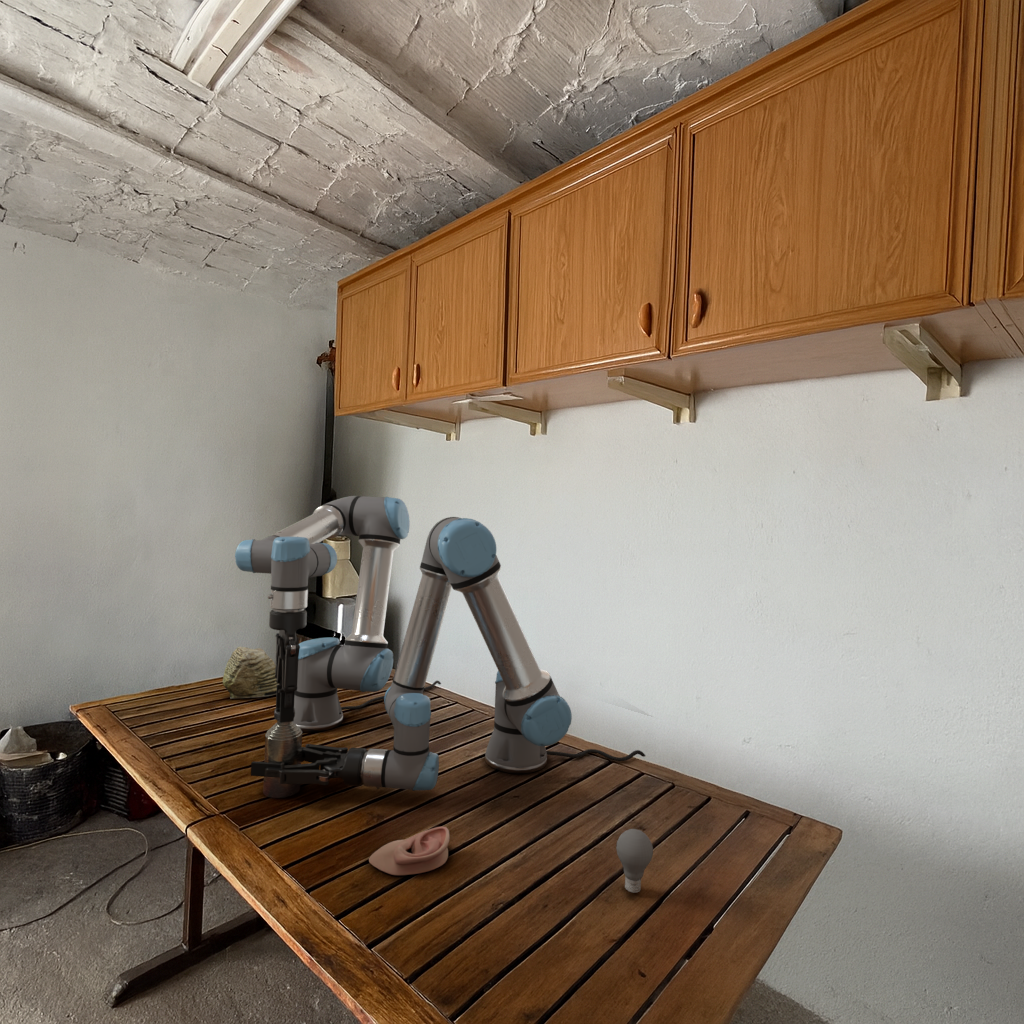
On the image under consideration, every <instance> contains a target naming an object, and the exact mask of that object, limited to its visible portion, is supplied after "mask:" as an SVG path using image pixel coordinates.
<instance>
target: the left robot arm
mask: <svg viewBox="0 0 1024 1024" xmlns="http://www.w3.org/2000/svg"><path fill="white" fill-rule="evenodd" d="M410 523H411V521H410V515H409V510H408V507H407V505H406V503H405V502H404V501H403V500H402V499H400V498H398V497H390V496H363V495H350V496H345V497H341V498H337V499H334V500H331V501H329V502H326V503H324V504H322V505H320V506H318V507H316V509H315V510H314V511H313V512H312V514H310V515H308V516H306V517H305V518H303V519H300V520H298V521H297V522H294V523H292V524H290V525H288V526H287V527H284V528H282V529H281V530H278V531H276V532H275V533H273V534H270V535H269V536H267V537H264V538H262V539H253V538H252V539H244V540H242V541H241V542H240V543H239V544H238V545H237V547H236V548H235V549H236V550H235V552H234V559H235V564H236V566H237V568H238V569H239V570H240V571H242V572H247V573H253V574H270V594H267V599H268V600H269V601H270V602H269V607H270V608H271V610H270V611H269V617H268V618H269V620H268V624H269V625H268V626H269V628H270V629H272V630H275V631H278V633H276V634H275V643H276V644H275V665H276V667H275V678H276V679H277V680H276V682H277V684H279V685H277V691H276V695H275V697H276V698H275V709H276V708H278V707H280V723H284V722H291V721H292V722H293V723H295V724H296V725H297V726H298V727H299V728H300V729H301V731H302V733H316V732H325V731H329V730H332V729H335V728H337V727H339V726H340V725H342V723H343V722H344V714H343V711H345V710H357V709H358V710H359V709H362V708H364V707H365V706H367V705H369V704H371V703H373V702H376V701H380V700H384V697H385V695H382V696H378V697H377V696H376V697H373V698H371V699H369V700H367V701H365V702H363V703H362V704H359V705H348V706H341V702H340V699H339V695H338V689H339V690H340V689H341V690H347V691H348V690H349V691H359V692H362V693H366V692H367V693H369V692H370V693H377V692H379V691H381V690H382V689H383V688H384V687H385V685H386V684H387V683H388V681H389V679H390V676H391V675H392V670H393V668H394V667H393V666H394V653H393V651H392V650H391V649H389V648H388V644H389V642H388V641H387V639H386V638H385V637H384V631H385V623H386V616H387V608H388V600H389V592H390V591H389V590H390V583H391V575H392V568H393V560H394V552H395V551H396V550H397V549H398V548H399V547H400V546H401V540H404V539H406V538H407V537H408V536H409V533H410V525H411V524H410ZM339 536H351V537H358V543H359V544H360V545H361V547H362V554H361V561H360V568H359V576H358V582H357V591H356V599H355V605H354V612H353V613H354V614H353V620H352V627H351V633H350V634H349V635H348V636H347V637H345V639H344V644H340V643H341V641H340V639H339V638H338V637H334V636H333V637H318V638H313V639H307V640H304V641H302V642H300V640H299V638H300V637H299V636H297V631H298V630H302V629H304V628H306V626H307V621H308V620H307V619H308V618H307V617H308V611H307V610H306V608H307V607H308V599H309V598H308V597H309V588H308V587H309V578H316V577H322V576H325V575H326V574H329V573H331V572H332V571H333V570H334V569H335V568H336V567H337V563H338V554H337V551H336V550H335V548H334V547H333V546H332V545H331V544H329V543H326V542H323V541H325V540H327V539H335V538H337V537H339ZM437 684H438V685H442V682H441V681H440V680H435V681H434V682H433V683H432V684H430V685H428V686H425V687H424V690H423V692H424V691H427V690H429V689H432V688H433V687H435V686H436V685H437ZM294 708H295V717H294Z"/></svg>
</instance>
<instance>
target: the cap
mask: <svg viewBox="0 0 1024 1024" xmlns="http://www.w3.org/2000/svg"><path fill="white" fill-rule="evenodd" d="M294 717H295V708H294ZM273 718H274V720H275V721H277V720H279V721H280V707H278V708H276V707H275V709H274V711H273Z"/></svg>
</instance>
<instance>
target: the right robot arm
mask: <svg viewBox="0 0 1024 1024" xmlns="http://www.w3.org/2000/svg"><path fill="white" fill-rule="evenodd" d="M419 570H420V572H421V579H420V582H419V585H418V588H417V593H416V595H415V599H414V603H413V607H412V610H411V613H410V617H409V621H408V624H407V627H406V631H405V635H404V638H403V642H402V646H401V650H400V653H399V655H398V661H397V664H396V667H395V671H394V675H393V677H392V682H391V684H390V686H389V687H388V689H387V690H386V691H385V693H384V696H385V697H384V699H383V702H384V709H385V711H386V713H387V715H388V717H389V719H390V722H391V725H392V726H393V747H392V748H393V749H383V748H369V749H367V748H363V747H350V748H348V747H335V746H328V745H321V744H313V743H307V744H305V746H302V752H301V764H297V765H286V766H284V762H282V763H270V762H264V761H256V760H255V761H251V763H250V777H263V778H264V777H278V778H280V784H300V785H320V786H321V785H322V786H328V785H329V784H330V779H340V778H341V779H342V781H343V785H345V786H349V787H362V786H364V787H369V788H375V789H376V790H380V789H381V788H384V789H397V790H406V791H407V790H409V791H414V792H415V791H431V790H433V789H435V787H436V785H437V782H438V777H439V771H440V770H439V768H440V758H439V754H438V753H436V752H432V751H430V732H431V731H430V730H431V717H432V711H431V699H430V697H429V696H428V695H425V694H424V691H425V690H424V688H425V687H426V683H427V679H428V675H429V672H430V669H431V665H432V661H433V657H434V654H435V650H436V647H437V643H438V640H439V636H440V633H441V629H442V626H443V623H444V618H445V615H446V611H447V609H448V608H447V607H448V604H449V601H450V598H451V594H452V590H453V591H457V592H460V593H462V595H463V598H464V600H465V602H466V604H467V606H468V609H469V611H470V613H471V614H472V617H473V619H474V620H475V623H476V626H477V628H478V630H479V632H480V634H481V636H482V638H483V641H484V643H485V645H486V647H487V649H488V651H489V654H490V656H491V657H492V660H493V662H494V664H495V666H496V669H497V672H496V677H495V681H494V684H495V690H494V691H495V692H494V694H495V695H494V715H493V717H494V719H493V729H492V732H491V736H490V738H489V741H488V743H487V746H486V748H485V753H484V755H485V756H484V760H485V763H486V764H487V765H488V766H489V767H490V768H492V769H494V770H496V771H500V772H503V773H509V774H529V773H530V774H531V773H536V772H537V771H540V770H542V769H544V768H545V767H546V766H547V763H548V756H556V757H563V758H570V759H578V758H583V757H584V756H586V755H588V754H597V755H599V756H602V757H604V758H606V759H608V760H611V761H614V762H620V763H621V762H626V761H629V760H630V759H632V758H633V757H635V756H636V755H640V757H643V758H644V757H646V754H645V753H644V752H643V751H642V750H639V749H636V750H634V751H632V752H631V753H629V754H628V755H626V756H622V757H621V756H619V757H618V756H612V755H610V754H608V753H606V752H604V751H602V750H600V749H594V748H588V749H585V750H583V751H581V752H579V753H568V752H562V751H552V750H547V749H546V747H549V746H553V745H554V744H555V745H556V744H558V742H560V741H561V740H562V739H563V738H564V737H565V736H566V735H567V733H568V732H569V728H570V726H571V724H572V720H573V718H572V717H573V716H572V715H573V714H572V709H571V707H570V705H569V704H568V702H567V701H566V699H565V698H564V697H562V696H561V695H560V693H559V691H558V690H557V689H558V688H556V684H555V682H554V681H553V678H552V676H551V674H550V673H549V672H548V671H547V670H546V669H545V670H544V669H541V668H540V666H539V663H538V662H537V660H536V657H535V655H534V653H533V651H532V649H531V646H530V644H529V642H528V639H527V637H526V635H525V633H524V631H523V628H522V625H521V624H520V621H519V620H518V617H517V615H516V613H515V611H514V608H513V606H512V604H511V602H510V599H509V597H508V595H507V593H506V591H505V588H504V586H503V584H502V581H501V579H500V577H499V575H500V572H501V570H502V564H501V562H500V560H499V557H498V555H497V542H496V540H495V537H494V535H493V533H492V532H491V530H489V528H488V527H487V526H485V525H484V524H483V523H481V522H480V521H478V520H476V519H473V518H467V517H458V516H448V517H444V518H442V519H440V520H439V521H437V522H436V523H435V524H434V525H433V526H432V528H431V529H430V530H429V533H428V534H427V537H426V542H425V546H424V549H423V554H422V558H421V562H420V565H419ZM423 690H424V691H423ZM302 762H308V763H302Z"/></svg>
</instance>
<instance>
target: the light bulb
mask: <svg viewBox="0 0 1024 1024" xmlns="http://www.w3.org/2000/svg"><path fill="white" fill-rule="evenodd" d="M615 849H616V854H617V857H618V859H619V861H620V863H621V865H622V867H623V873H624V874H623V875H624V876H625V878H624V888H625V890H627V891H628V892H630V893H634V894H635V893H639V892H640V891H641V889H642V887H641V886H642V879H643V877H644V875H645V871H646V868H647V867H648V866H649V864H650V863H651V861H652V859H653V855H654V847H653V843H652V841H651V838H649V836H648V835H647V834H646V833H645V832H643V831H642V830H641V829H636V828H629V829H627V830H625V831H623V832H622V833H621V834H620V835H619V837H618V839H617V841H616V847H615Z"/></svg>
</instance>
